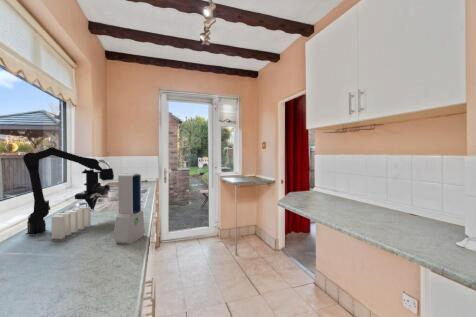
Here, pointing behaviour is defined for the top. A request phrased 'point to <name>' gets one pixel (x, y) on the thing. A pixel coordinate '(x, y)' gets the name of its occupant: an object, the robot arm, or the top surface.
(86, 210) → the domino
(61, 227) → the domino
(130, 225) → the electronic device
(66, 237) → the rubber mat
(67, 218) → the domino
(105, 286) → the top surface
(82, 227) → the domino
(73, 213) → the domino
